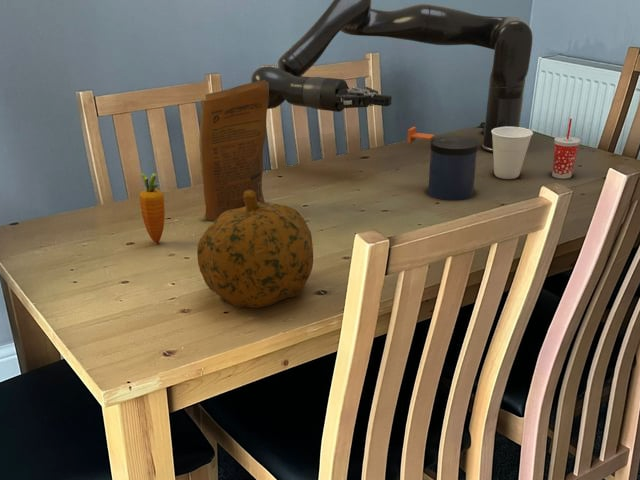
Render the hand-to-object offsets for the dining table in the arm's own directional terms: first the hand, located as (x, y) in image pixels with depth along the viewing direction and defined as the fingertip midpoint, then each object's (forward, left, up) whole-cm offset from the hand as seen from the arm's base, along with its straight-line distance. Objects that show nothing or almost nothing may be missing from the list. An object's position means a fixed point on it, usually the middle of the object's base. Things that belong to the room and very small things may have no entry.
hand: (390, 101), depth 186 cm
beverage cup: (-18, +40, -20) cm, 48 cm away
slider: (+1, +8, -9) cm, 12 cm away
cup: (-14, +27, -20) cm, 37 cm away
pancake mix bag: (+31, -27, -20) cm, 45 cm away
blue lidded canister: (+3, +16, -20) cm, 26 cm away
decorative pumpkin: (+69, -6, -20) cm, 72 cm away
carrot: (+53, -36, -20) cm, 67 cm away
